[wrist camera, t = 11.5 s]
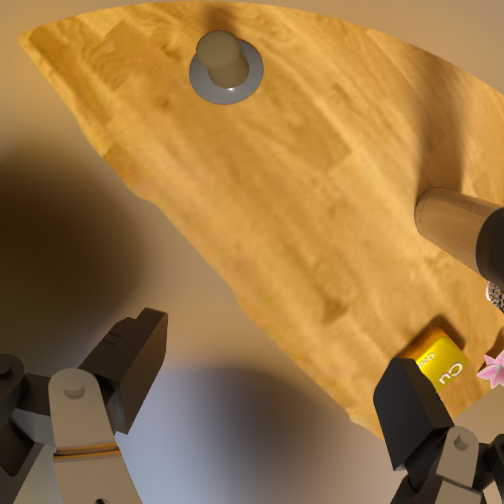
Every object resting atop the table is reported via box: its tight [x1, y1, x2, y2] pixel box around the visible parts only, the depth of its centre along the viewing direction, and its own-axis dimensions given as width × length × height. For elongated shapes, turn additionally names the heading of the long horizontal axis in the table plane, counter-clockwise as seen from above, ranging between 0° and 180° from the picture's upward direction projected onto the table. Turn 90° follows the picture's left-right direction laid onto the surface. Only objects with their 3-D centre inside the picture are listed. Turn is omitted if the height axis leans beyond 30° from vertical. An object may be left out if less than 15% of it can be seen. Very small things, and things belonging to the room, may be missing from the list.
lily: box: [476, 350, 504, 389], centre depth 48 cm, size 12×12×10 cm
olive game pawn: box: [196, 30, 249, 89], centre depth 32 cm, size 6×6×11 cm
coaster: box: [189, 40, 263, 105], centre depth 37 cm, size 11×11×1 cm
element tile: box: [401, 326, 468, 393], centre depth 50 cm, size 15×15×5 cm
